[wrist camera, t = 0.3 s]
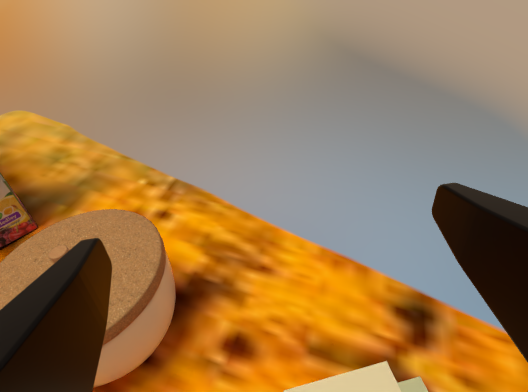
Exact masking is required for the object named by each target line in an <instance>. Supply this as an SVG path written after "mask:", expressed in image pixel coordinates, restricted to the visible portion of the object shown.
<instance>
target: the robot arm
mask: <svg viewBox="0 0 528 392" xmlns="http://www.w3.org/2000/svg"><path fill="white" fill-rule="evenodd" d="M432 215H433V218H434V220H435V221H436V223H437V225H438V227H439V229H440V231H441V232H442V234H443V236H444V238H445V240H446V241H447V243H448V245H449V247H450V249H451V251H452V253H453V254H454V256H455V258H456V259H457V261H458V263H459V264H460V266H461V267H462V269H463V270H464V272H465V273H466V275H467V276H468V277H469V279H470V280H471V282H472V283H473V285H474V286H475V288H476V289H477V290H478V292H479V293H480V295H481V296H482V298H483V299H484V300H485V302H486V303H487V305H488V306H489V308H490V309H491V311H492V312H493V313H494V315H495V316H496V318H497V319H498V321H499V322H500V323H501V325H502V326H503V328H504V329H505V331H506V332H507V333H508V335H509V336H510V338H511V339H512V341H513V342H514V344H515V345H516V346H517V348H518V349H519V351H520V352H521V354H522V355H523V356H524V358H525V359H526V361H527V362H528V207H525V206H522V205H519V204H516V203H513V202H510V201H508V200H505V199H502V198H499V197H496V196H493V195H490V194H487V193H484V192H481V191H478V190H475V189H472V188H469V187H467V186H463V185H460V184H458V183H449V184H443V185H440V186H439V187H438V189H437V191H436V195H435V199H434V203H433V207H432ZM111 278H112V263H111V260H110V257H109V255H108V253H107V251H106V249H105V247H104V244H103V242H102V241H101V240H100V239H99V238H91V239H85V240H81V241H80V242H79V243H77V244H76V245H75V246H74V247H73V248H72V249H70V250H69V251H68V252H67V253H66V254H65V255H63V256H62V257H61V258H60V259H59V260H58V261H56V262H55V263H54V264H53V265H52V266H51V267H50V268H48V269H47V270H46V271H45V272H44V273H43V274H41V275H40V276H39V277H38V278H37V279H36V280H34V281H33V282H32V283H31V284H30V285H29V286H27V287H26V288H25V289H24V290H23V291H22V292H20V293H19V294H18V295H17V296H16V297H15V298H13V299H12V300H11V301H10V302H9V303H8V304H6V305H5V306H4V307H3V308H2V309H1V310H0V392H92V391H93V387H94V382H95V378H96V373H97V368H98V364H99V359H100V355H101V350H102V346H103V341H104V336H105V331H106V326H107V319H108V310H109V299H110V288H111Z"/></svg>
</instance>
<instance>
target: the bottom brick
mask: <svg viewBox="0 0 528 392" xmlns="http://www.w3.org/2000/svg"><path fill="white" fill-rule="evenodd" d="M283 392H401V390H400V388H399V386H398V384H397V382H396V380H395V378H394V376H393V374H392V372H391V369H390V367H389V365H388V363H387V361H385V362H382V363H378V364H375V365H371V366H368V367H364V368H361V369H357V370H354V371H350V372H347V373H344V374H340V375H337V376H333V377H330V378H326V379H323V380H319V381H316V382H312V383H309V384H305V385H302V386H298V387H295V388H291V389H288V390H284V391H283Z"/></svg>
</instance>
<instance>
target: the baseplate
mask: <svg viewBox="0 0 528 392" xmlns="http://www.w3.org/2000/svg"><path fill="white" fill-rule="evenodd" d="M397 384H398V386H399V388H400V390H401V392H428V390H427V388H426V387H425V385H424V383H423V381H422V379H421V378H420V377H416V378H413V379H409V380H406V381H403V382H399V383H397Z"/></svg>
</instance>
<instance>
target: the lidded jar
mask: <svg viewBox="0 0 528 392" xmlns="http://www.w3.org/2000/svg"><path fill="white" fill-rule="evenodd" d="M91 238H99V239H100V240H101V241H102V242H103V244H104V247H105V249H106V251H107V253H108V255H109V257H110V260H111V263H112V278H111V288H110V299H109V310H108V319H107V326H106V331H105V336H104V341H103V346H102V350H101V355H100V359H99V364H98V368H97V373H96V378H95V382H94V387H97V386H101V385H104V384H107V383H110V382H112V381H114V380H117V379H119V378H121V377H123V376H125V375H126V374H128V373H130V372H131V371H133V370H134V369H135V368H137V367H138V366H139V365H141V364H142V363H143V362H144V361H145V360H146V359H147V358H148V357H149V356H150V355H151V354H152V353H153V352H154V350H155V349H156V348H157V347H158V345H159V344H160V342H161V341H162V339H163V337H164V336H165V334H166V332H167V330H168V328H169V325H170V323H171V320H172V316H173V312H174V306H175V299H176V294H175V280H174V276H173V272H172V268H171V264H170V261H169V259H168V256H167V254H166V252H165V247H164V243H163V240H162V238H161V236H160V234H159V232H158V230H157V228H156V227H155V226H154V225H153V224H152V222H151V221H149V220H148V219H146V218H145V217H143V216H141V215H139V214H137V213H134V212H130V211H125V210H117V209H109V210H98V211H91V212H87V213H83V214H79V215H76V216H73V217H70V218H67V219H65V220H62V221H60V222H58V223H55V224H53V225H51V226H49V227H47V228H45V229H44V230H42V231H40V232H39V233H37V234H35V235H34V236H32V237H31V238H29V239H28V240H26V241H25V242H24V243H22V244H21V245H19V246H18V247H17V248H16V249H15V250H14V251H12V252H11V253H10V254H9V255H8V256H7V257H6V258H5V259H4V260H3V261H2V262H1V263H0V310H1V309H2V308H3V307H4V306H5V305H6V304H8V303H9V302H10V301H11V300H12V299H13V298H15V297H16V296H17V295H18V294H19V293H20V292H22V291H23V290H24V289H25V288H26V287H27V286H29V285H30V284H31V283H32V282H33V281H34V280H36V279H37V278H38V277H39V276H40V275H41V274H43V273H44V272H45V271H46V270H47V269H48V268H50V267H51V266H52V265H53V264H54V263H55V262H56V261H58V260H59V259H60V258H61V257H62V256H63V255H65V254H66V253H67V252H68V251H69V250H70V249H72V248H73V247H74V246H75V245H76V244H77V243H79V242H80V241H81V240H85V239H91Z"/></svg>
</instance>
